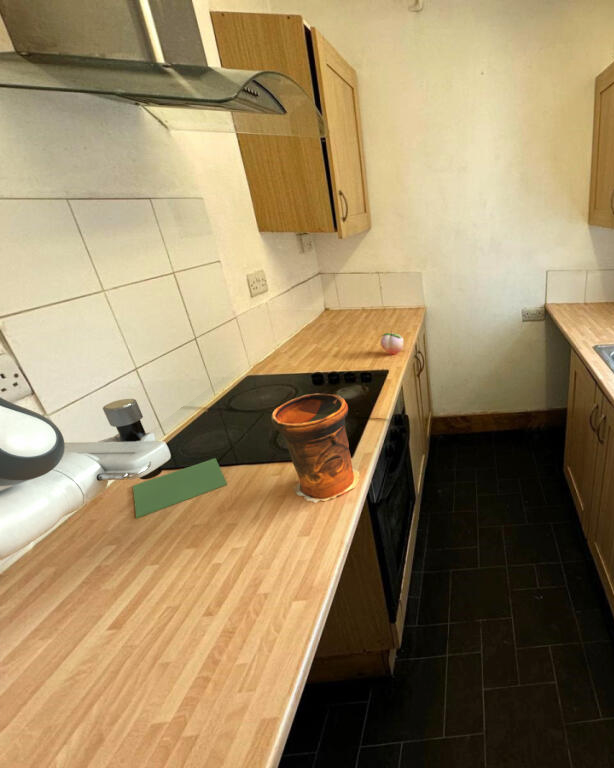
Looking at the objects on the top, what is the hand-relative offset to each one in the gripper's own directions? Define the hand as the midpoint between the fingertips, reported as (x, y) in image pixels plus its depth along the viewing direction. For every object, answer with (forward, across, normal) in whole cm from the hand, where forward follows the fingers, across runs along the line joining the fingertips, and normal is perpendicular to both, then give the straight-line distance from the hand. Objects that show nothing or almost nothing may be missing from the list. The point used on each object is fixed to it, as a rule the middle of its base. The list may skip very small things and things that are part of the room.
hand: (138, 436), depth 82 cm
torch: (-1, 0, +8) cm, 9 cm away
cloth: (+6, +2, +17) cm, 18 cm away
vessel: (+5, -32, +17) cm, 37 cm away
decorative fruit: (+92, -26, +17) cm, 97 cm away
